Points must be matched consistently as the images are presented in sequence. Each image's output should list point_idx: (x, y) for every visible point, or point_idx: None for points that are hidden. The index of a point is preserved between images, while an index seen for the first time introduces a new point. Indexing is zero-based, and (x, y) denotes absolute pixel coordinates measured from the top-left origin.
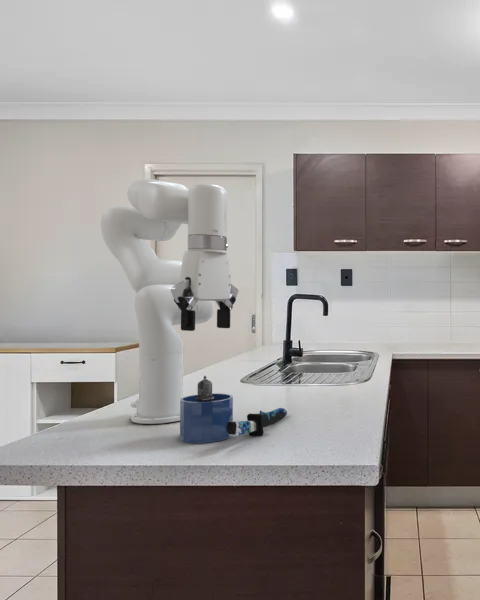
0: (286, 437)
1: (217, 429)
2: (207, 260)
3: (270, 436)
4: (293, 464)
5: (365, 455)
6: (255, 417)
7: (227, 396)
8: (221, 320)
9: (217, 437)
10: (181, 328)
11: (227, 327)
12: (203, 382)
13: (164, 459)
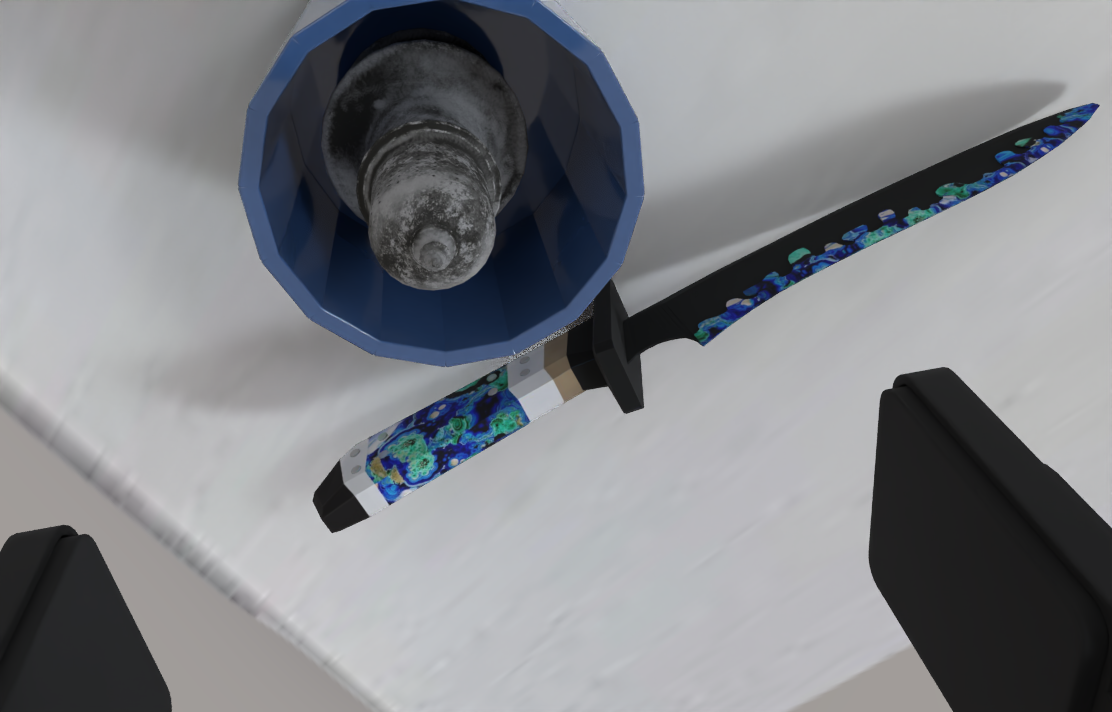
0: (661, 447)
1: None
2: None
3: None
4: (386, 706)
5: None
6: (609, 386)
7: (616, 215)
8: (934, 555)
9: None
10: (14, 553)
11: (879, 566)
12: (396, 271)
13: (41, 310)
